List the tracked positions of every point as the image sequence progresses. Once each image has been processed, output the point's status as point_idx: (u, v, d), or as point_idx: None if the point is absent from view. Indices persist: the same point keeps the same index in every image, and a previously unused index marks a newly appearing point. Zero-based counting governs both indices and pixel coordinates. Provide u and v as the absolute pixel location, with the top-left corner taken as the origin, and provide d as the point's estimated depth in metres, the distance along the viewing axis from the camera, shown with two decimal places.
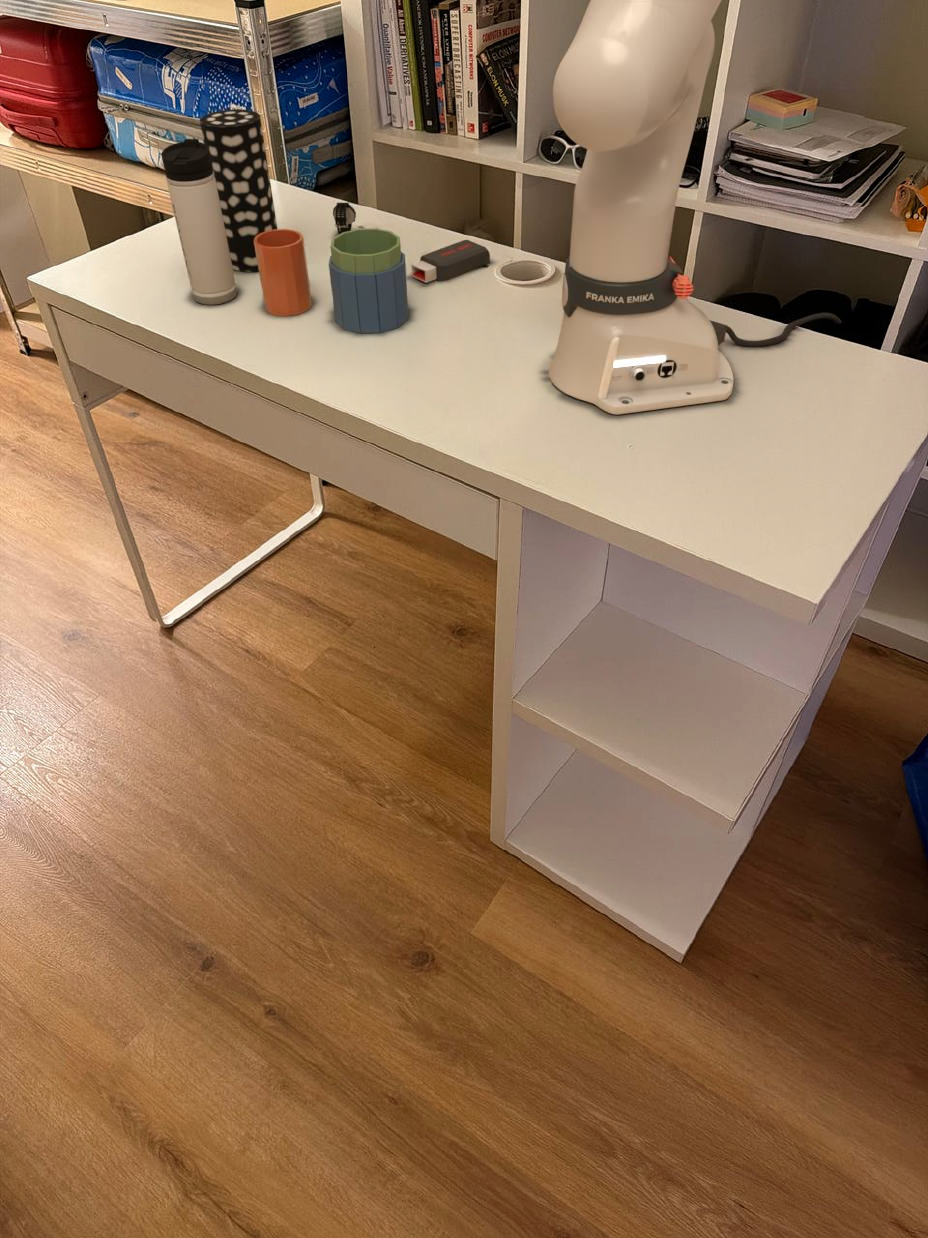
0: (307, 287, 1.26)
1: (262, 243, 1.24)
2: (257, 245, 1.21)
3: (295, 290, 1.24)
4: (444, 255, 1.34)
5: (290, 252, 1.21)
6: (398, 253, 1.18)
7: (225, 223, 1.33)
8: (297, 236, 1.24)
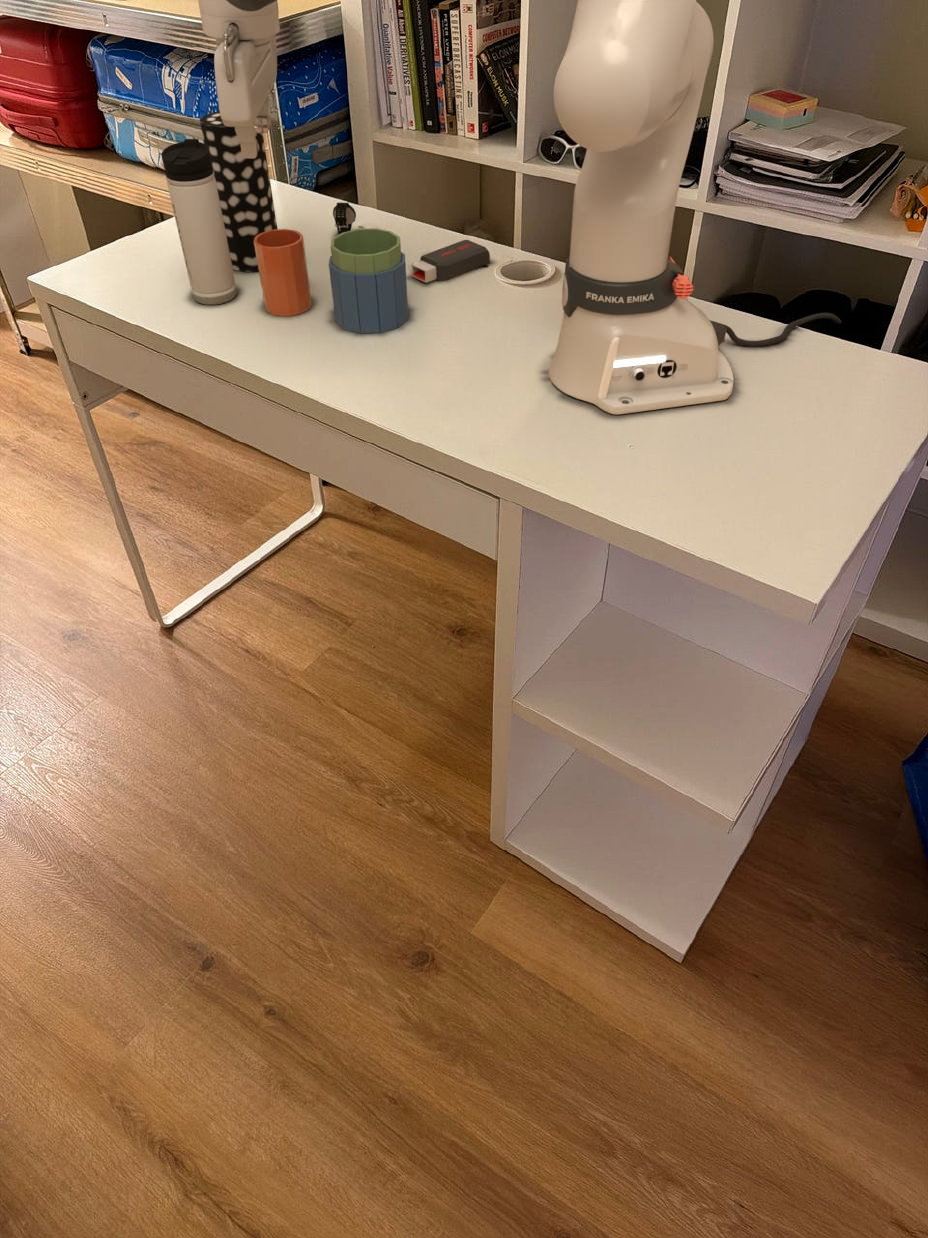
0: (307, 287, 1.26)
1: (262, 243, 1.24)
2: (257, 245, 1.21)
3: (295, 290, 1.24)
4: (444, 255, 1.34)
5: (290, 252, 1.21)
6: (398, 253, 1.18)
7: (225, 223, 1.33)
8: (297, 236, 1.24)
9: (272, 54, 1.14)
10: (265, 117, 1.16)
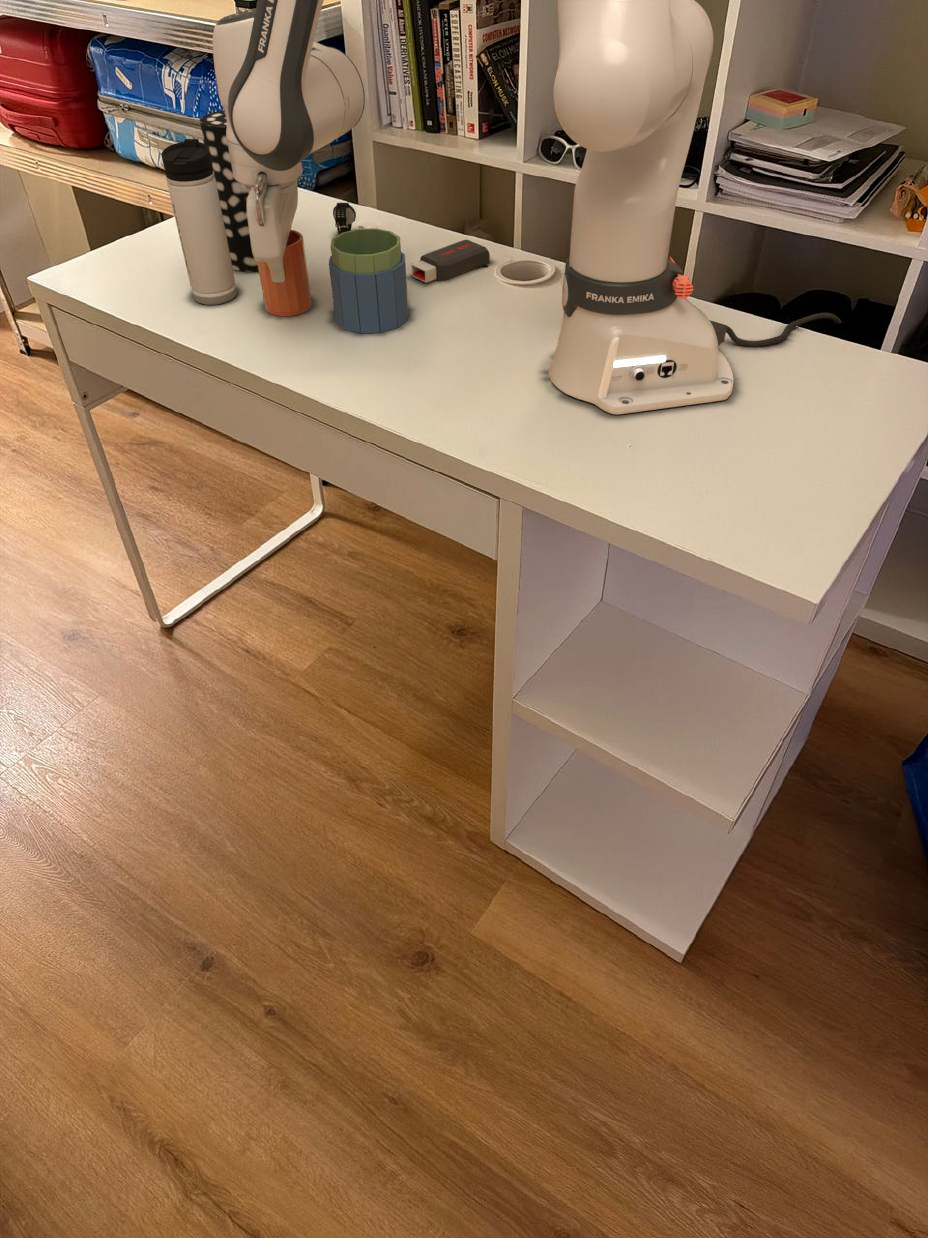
0: (307, 287, 1.26)
1: None
2: None
3: (295, 290, 1.24)
4: (443, 255, 1.34)
5: (290, 252, 1.21)
6: (398, 253, 1.18)
7: (225, 223, 1.33)
8: (297, 236, 1.24)
9: None
10: None
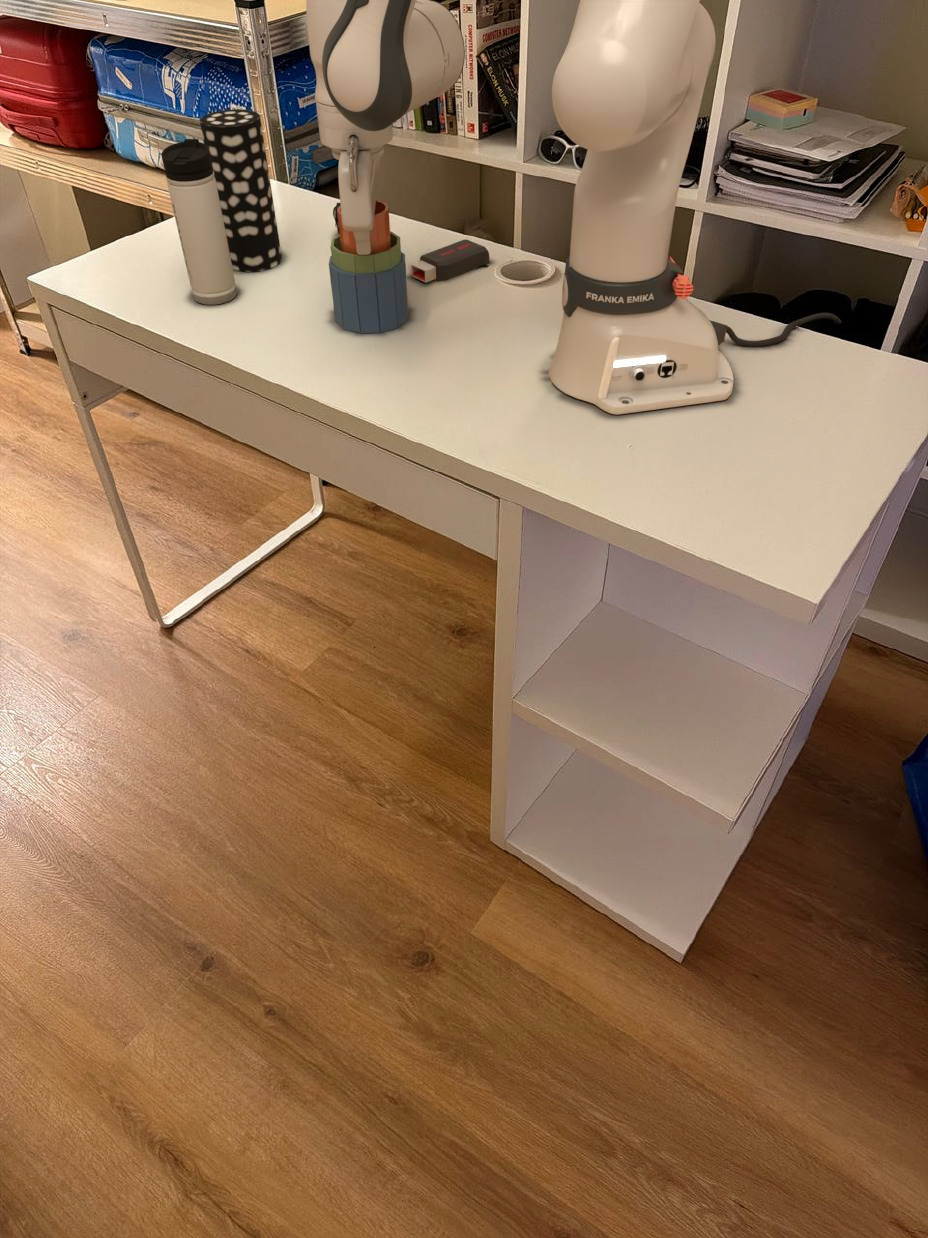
0: None
1: None
2: (341, 215, 1.14)
3: None
4: (443, 255, 1.34)
5: (376, 222, 1.14)
6: (398, 253, 1.18)
7: (225, 223, 1.33)
8: (381, 206, 1.17)
9: None
10: None
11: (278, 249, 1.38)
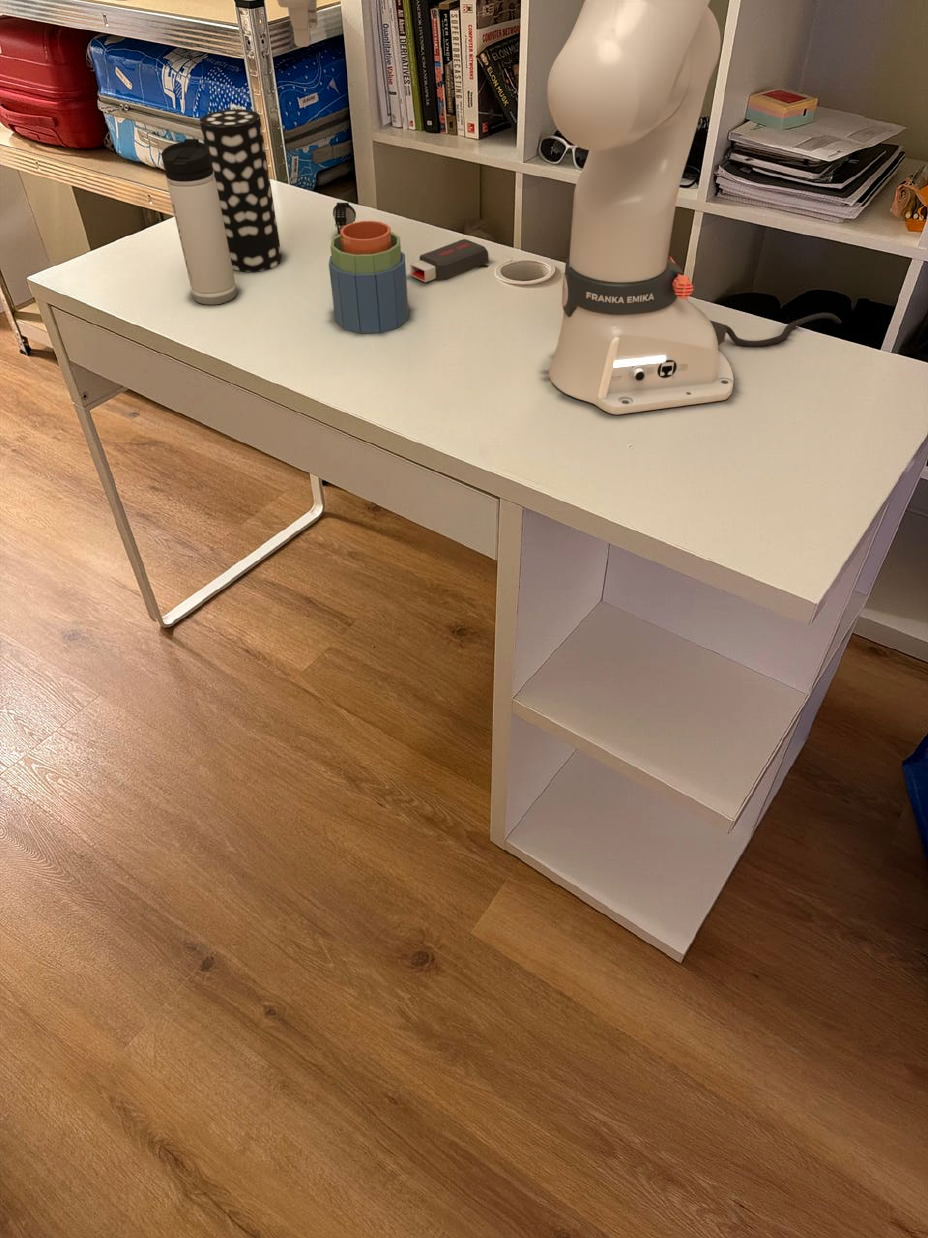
0: None
1: (347, 235, 1.19)
2: (344, 237, 1.16)
3: None
4: (443, 255, 1.34)
5: (378, 244, 1.16)
6: (398, 253, 1.18)
7: (225, 223, 1.33)
8: (384, 228, 1.19)
9: None
10: (313, 11, 1.15)
11: (278, 249, 1.38)
